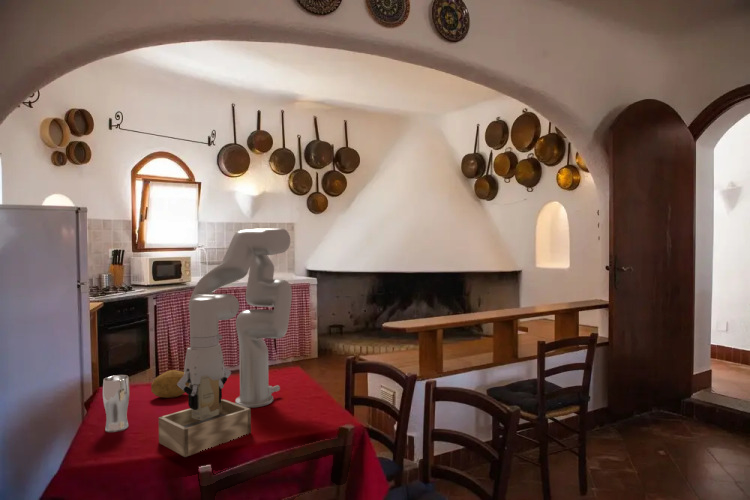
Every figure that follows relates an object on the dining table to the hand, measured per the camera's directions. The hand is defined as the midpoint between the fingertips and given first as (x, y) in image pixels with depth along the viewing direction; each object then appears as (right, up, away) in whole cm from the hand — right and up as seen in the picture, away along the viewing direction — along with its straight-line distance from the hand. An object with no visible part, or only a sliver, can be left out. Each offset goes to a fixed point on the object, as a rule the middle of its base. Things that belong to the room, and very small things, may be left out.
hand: (205, 404), depth 136 cm
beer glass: (-29, -10, +8) cm, 31 cm away
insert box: (0, -9, 0) cm, 9 cm away
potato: (-25, -9, +37) cm, 46 cm away
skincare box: (0, -3, 0) cm, 3 cm away
